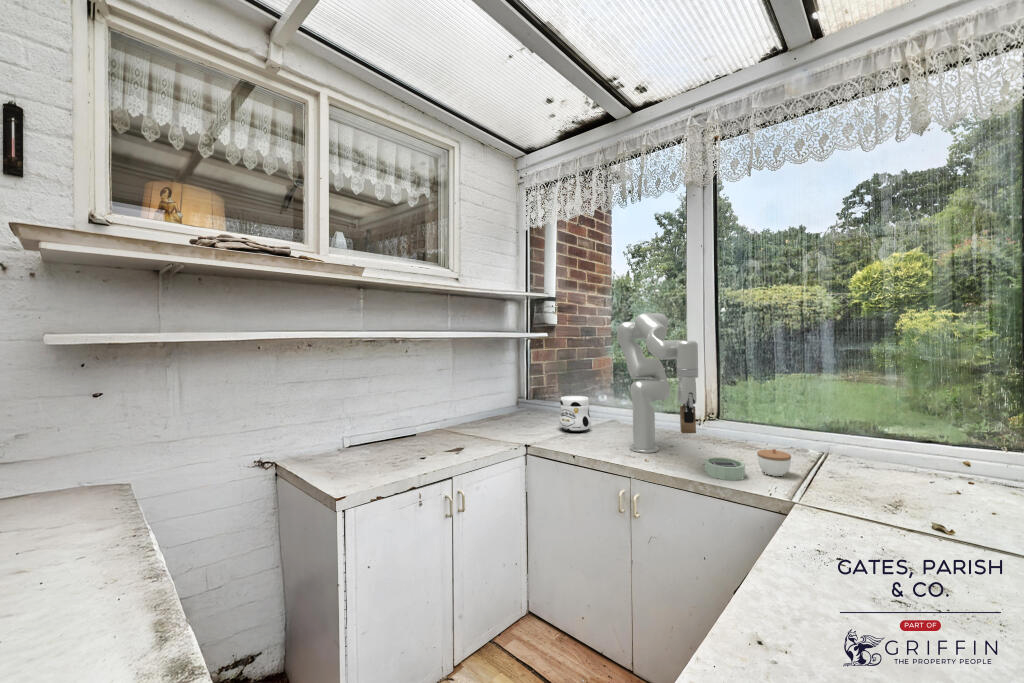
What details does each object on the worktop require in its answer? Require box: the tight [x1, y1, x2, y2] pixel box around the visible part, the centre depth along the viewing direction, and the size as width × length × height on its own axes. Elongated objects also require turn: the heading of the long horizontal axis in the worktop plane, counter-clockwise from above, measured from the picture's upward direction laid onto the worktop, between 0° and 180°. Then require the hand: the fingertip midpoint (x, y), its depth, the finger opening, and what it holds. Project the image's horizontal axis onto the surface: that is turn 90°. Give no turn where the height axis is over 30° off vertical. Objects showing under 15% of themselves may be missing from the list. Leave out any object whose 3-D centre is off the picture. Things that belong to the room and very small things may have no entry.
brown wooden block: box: [679, 405, 697, 434], centre depth 162 cm, size 2×5×10 cm, turn 80°
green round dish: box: [704, 456, 746, 481], centre depth 159 cm, size 13×13×4 cm
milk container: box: [558, 395, 592, 433], centre depth 234 cm, size 17×17×18 cm
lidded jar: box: [756, 448, 792, 477], centre depth 159 cm, size 11×11×9 cm
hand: (688, 421), depth 162 cm, fingers closed on brown wooden block, 2 cm apart
